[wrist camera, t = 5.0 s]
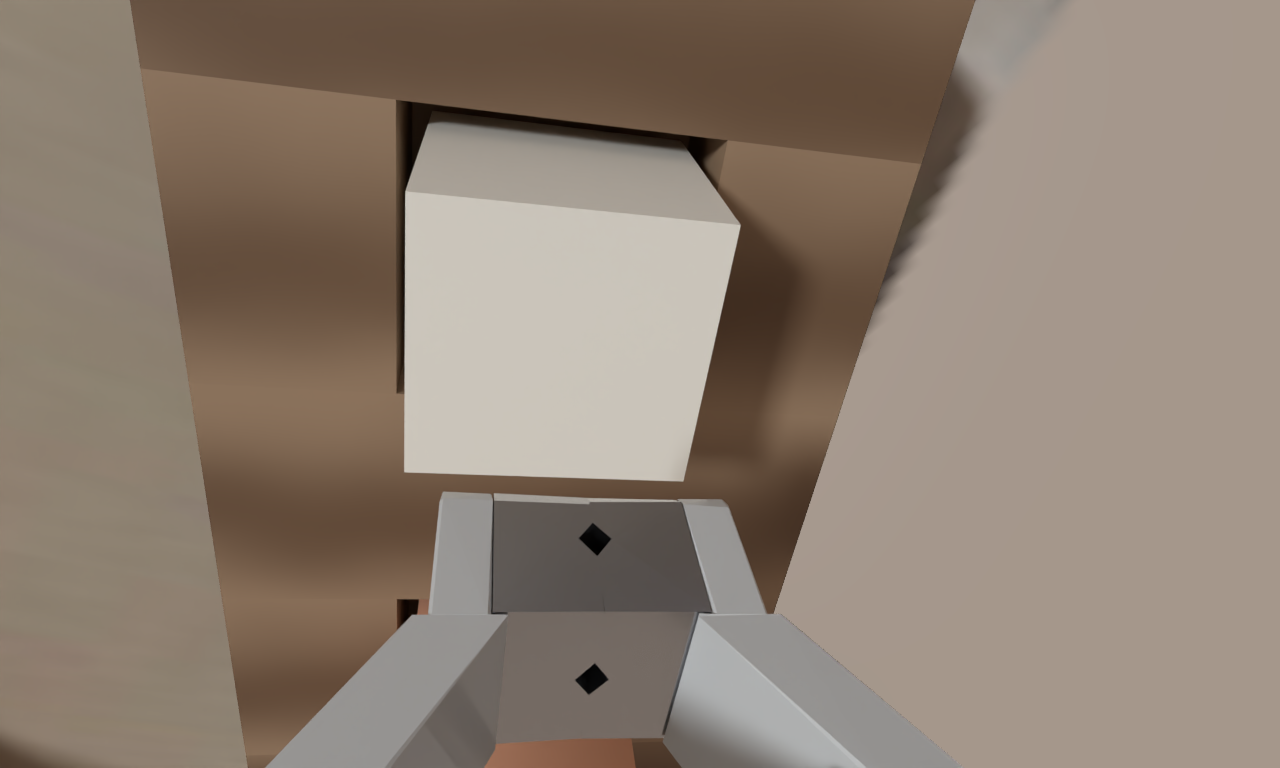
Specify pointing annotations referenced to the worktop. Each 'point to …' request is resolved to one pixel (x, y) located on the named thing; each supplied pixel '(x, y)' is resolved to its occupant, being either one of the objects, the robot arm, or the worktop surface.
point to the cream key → (558, 300)
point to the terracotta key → (559, 748)
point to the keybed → (375, 268)
